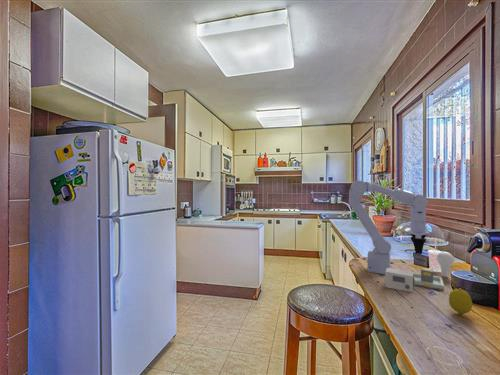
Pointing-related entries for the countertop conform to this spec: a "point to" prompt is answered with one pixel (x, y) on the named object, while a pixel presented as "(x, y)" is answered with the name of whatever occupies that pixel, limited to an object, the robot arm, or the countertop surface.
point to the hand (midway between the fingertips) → (418, 251)
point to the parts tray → (436, 282)
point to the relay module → (427, 275)
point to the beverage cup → (434, 260)
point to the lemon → (460, 301)
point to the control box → (400, 279)
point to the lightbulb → (445, 262)
